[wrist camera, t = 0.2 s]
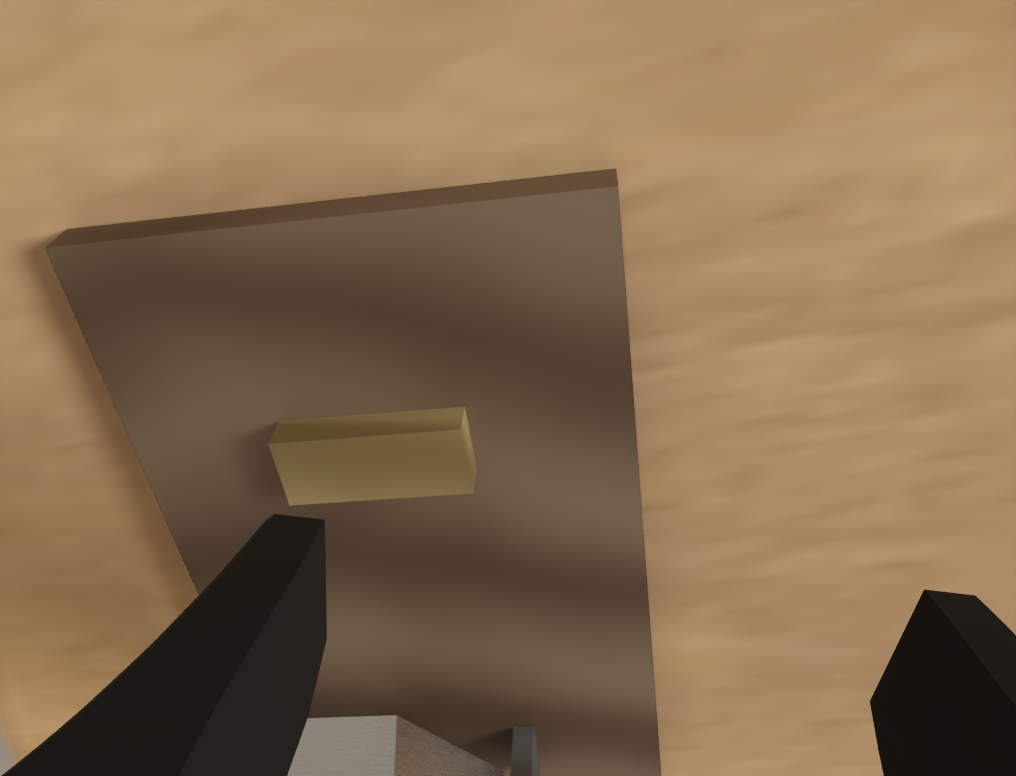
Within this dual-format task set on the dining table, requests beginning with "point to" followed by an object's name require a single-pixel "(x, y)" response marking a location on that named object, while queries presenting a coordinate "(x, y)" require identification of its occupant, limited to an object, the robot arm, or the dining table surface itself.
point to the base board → (408, 443)
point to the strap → (380, 750)
